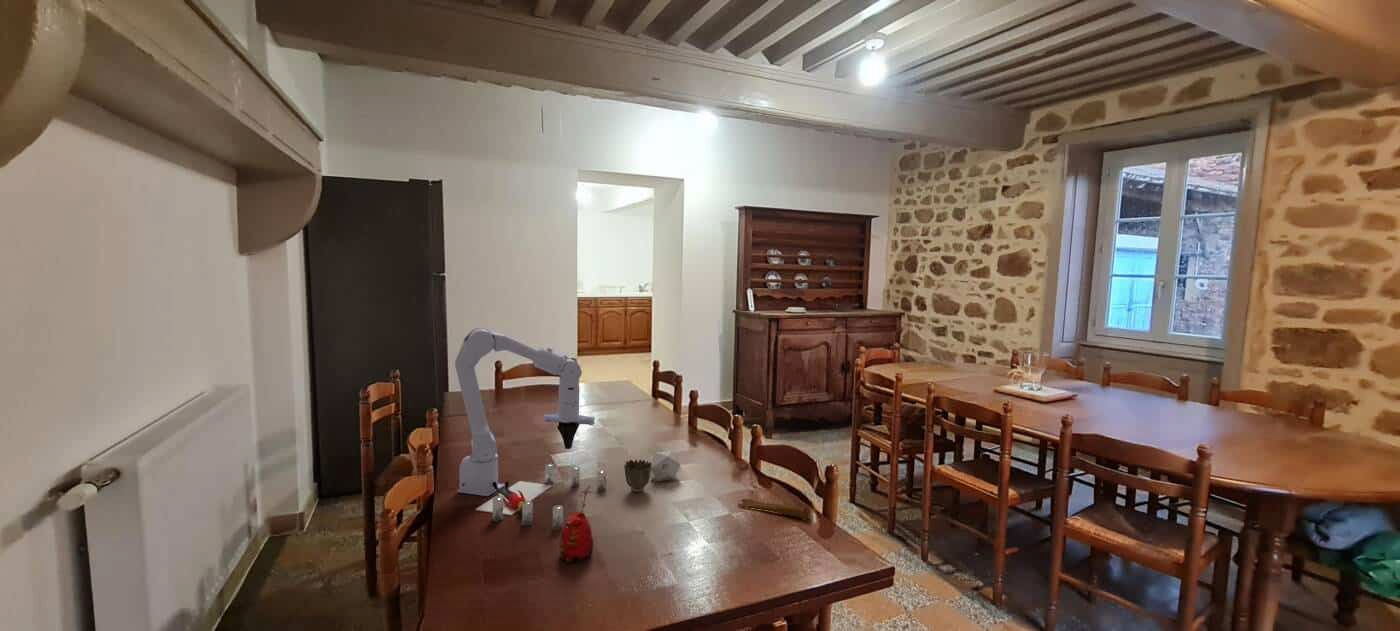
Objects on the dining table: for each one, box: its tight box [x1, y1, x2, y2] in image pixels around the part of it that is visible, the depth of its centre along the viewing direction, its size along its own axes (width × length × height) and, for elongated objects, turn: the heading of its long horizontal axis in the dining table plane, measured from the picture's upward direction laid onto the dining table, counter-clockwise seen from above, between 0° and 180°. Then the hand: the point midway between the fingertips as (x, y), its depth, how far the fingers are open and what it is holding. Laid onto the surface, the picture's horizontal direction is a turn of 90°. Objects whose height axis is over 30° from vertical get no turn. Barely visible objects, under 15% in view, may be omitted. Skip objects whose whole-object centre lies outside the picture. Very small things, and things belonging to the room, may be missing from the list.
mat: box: [475, 480, 552, 517], centre depth 152 cm, size 10×20×1 cm, turn 166°
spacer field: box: [492, 463, 607, 531], centre depth 149 cm, size 18×27×5 cm
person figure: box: [493, 481, 526, 515], centre depth 148 cm, size 5×4×18 cm
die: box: [650, 450, 681, 482], centre depth 169 cm, size 8×9×10 cm
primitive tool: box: [738, 498, 810, 520], centre depth 149 cm, size 19×6×4 cm, turn 64°
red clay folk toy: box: [559, 485, 594, 564], centre depth 122 cm, size 8×7×15 cm
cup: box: [623, 459, 652, 494], centre depth 158 cm, size 8×7×8 cm
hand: (568, 447), depth 165 cm, fingers closed
